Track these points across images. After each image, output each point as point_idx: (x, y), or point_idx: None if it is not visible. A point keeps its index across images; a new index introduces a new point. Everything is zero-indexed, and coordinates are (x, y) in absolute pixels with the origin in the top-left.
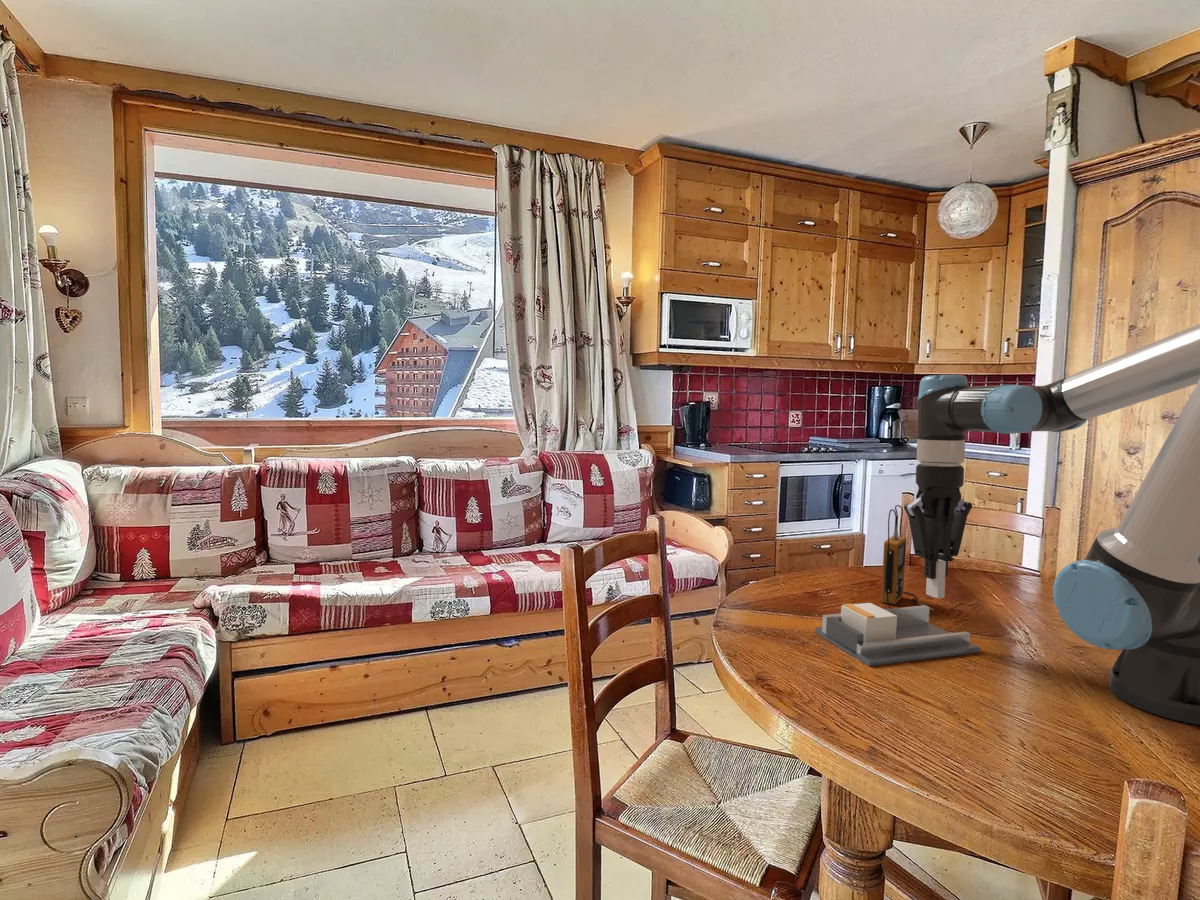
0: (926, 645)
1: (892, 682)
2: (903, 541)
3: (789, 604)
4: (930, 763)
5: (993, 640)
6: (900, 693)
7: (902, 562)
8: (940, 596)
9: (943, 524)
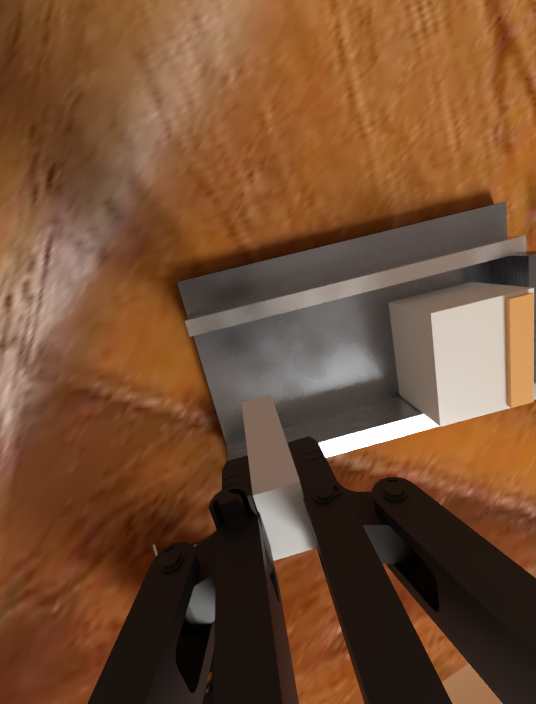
0: (323, 283)
1: (495, 105)
2: None
3: None
4: None
5: (94, 363)
6: (515, 37)
7: None
8: (259, 400)
9: None
